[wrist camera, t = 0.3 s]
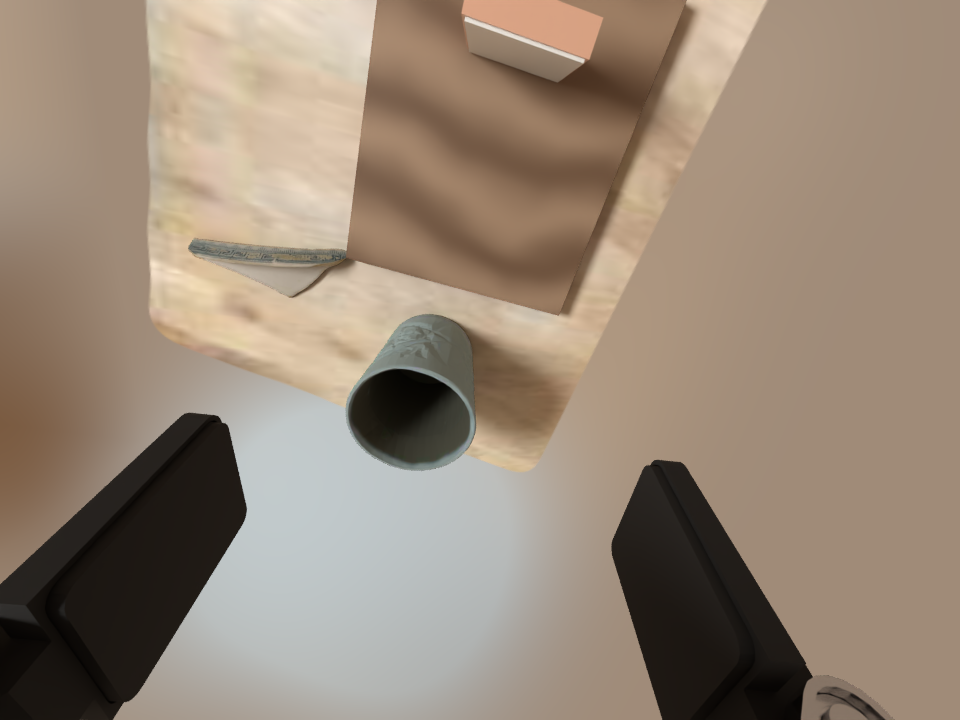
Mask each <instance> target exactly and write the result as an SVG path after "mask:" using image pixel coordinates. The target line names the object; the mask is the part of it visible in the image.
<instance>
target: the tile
mask: <svg viewBox="0 0 960 720" xmlns="http://www.w3.org/2000/svg"><path fill="white" fill-rule="evenodd" d="M461 15H462V20H463V26H464V32H465V38H466V44H467V48H469V52H471V53H474V54H477V55H480V56H482V57H485V58H488V59H491V60H494V61H497V62H500V63H503V64H505V65H508V66H511V67H514V68H517V69H520V70H523V71H525V72H528V73H531V74H534V75H537V76H540V77H543V78H546V79H548V80H551V81H554V82H557V83H558V82H559V81H561V80H562V79H564V78H565V77H566V76H568V75H569V74H570V73H572V72H573V71H575V70H576V69H577V68H579V67H580V66H581V65H583V64H584V63H586V62H587V61H588V60H589V59H590V56H591V53H592V50H593V47H594V44H595V41H596V38H597V35H598V32H599V29H600V26H601V24H602V21H603V17H600V16H598V15H595V14H593V13H590V12H587V11H585V10H582V9H579V8H577V7H574V6H571V5H569V4H566V3H563V2H561V1H558V0H464V3H463V8H462V13H461Z"/></svg>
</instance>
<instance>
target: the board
mask: <svg viewBox="0 0 960 720" xmlns="http://www.w3.org/2000/svg"><path fill="white" fill-rule="evenodd" d="M558 1H561V2H563V3H566V4H569V5H571V6H574V7H577V8H579V9H582V10H585V11H587V12H590V13H593V14H595V15H598V16H600V17H603V21H602V24H601V26H600V29H599V32H598V35H597V38H596V41H595V44H594V47H593V50H592V53H591V56H590V59H589V60H588V61H587V62H586V63H584V64H583V65H581V66H580V67H579V68H577V69H576V70H575V71H573V72H572V73H570V74H569V75H568V76H566V77H565V78H564V79H562V80H561V81H559V82H558V83H557V82H554V81H551V80H548V79H546V78H543V77H540V76H537V75H534V74H531V73H528V72H525V71H523V70H520V69H517V68H514V67H511V66H508V65H505V64H503V63H500V62H497V61H494V60H491V59H488V58H485V57H482V56H480V55H477V54H474V53H471V52H469V48H467V44H466V38H465V32H464V26H463V20H462V15H461V13H462V8H463V3H464V0H377V5H376V14H375V22H374V30H373V38H372V47H371V55H370V63H369V71H368V79H367V88H366V96H365V104H364V112H363V121H362V129H361V137H360V145H359V154H358V162H357V170H356V178H355V186H354V195H353V203H352V211H351V219H350V228H349V236H348V244H347V252H346V258H348V259H352V260H356V261H359V262H363V263H367V264H371V265H374V266H378V267H382V268H385V269H389V270H393V271H396V272H400V273H404V274H407V275H411V276H415V277H418V278H422V279H426V280H429V281H433V282H437V283H441V284H444V285H448V286H452V287H455V288H459V289H463V290H466V291H470V292H474V293H477V294H481V295H485V296H488V297H492V298H496V299H499V300H503V301H507V302H511V303H514V304H518V305H522V306H525V307H529V308H533V309H536V310H540V311H544V312H547V313H551V314H555V315H558V316H559V314H560V311H561V309H562V306H563V304H564V301H565V299H566V296H567V294H568V291H569V289H570V286H571V284H572V282H573V279H574V277H575V274H576V272H577V269H578V267H579V264H580V262H581V259H582V257H583V254H584V252H585V249H586V247H587V245H588V242H589V240H590V237H591V235H592V232H593V230H594V227H595V225H596V222H597V220H598V217H599V215H600V213H601V210H602V208H603V205H604V203H605V200H606V198H607V195H608V193H609V190H610V188H611V185H612V183H613V181H614V178H615V176H616V173H617V171H618V168H619V166H620V163H621V161H622V158H623V156H624V153H625V151H626V148H627V146H628V144H629V141H630V139H631V136H632V134H633V131H634V129H635V126H636V124H637V121H638V119H639V116H640V114H641V112H642V109H643V107H644V104H645V102H646V99H647V97H648V94H649V92H650V89H651V87H652V84H653V82H654V80H655V77H656V75H657V72H658V70H659V67H660V65H661V62H662V60H663V57H664V55H665V52H666V50H667V47H668V45H669V43H670V40H671V38H672V35H673V33H674V30H675V28H676V25H677V23H678V20H679V18H680V15H681V13H682V11H683V8H684V6H685V3H686V1H687V0H558Z"/></svg>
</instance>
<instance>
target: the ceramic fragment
mask: <svg viewBox="0 0 960 720" xmlns="http://www.w3.org/2000/svg"><path fill="white" fill-rule="evenodd" d="M188 249H189V251H190V252H191V253H192V254H193V255H194V256H195V257H197V258H200V259H204V260H206V261H208V262H211V263H213V264H216V265H219V266H221V267H224V268H226V269H229V270H232V271H234V272H237V273H239V274H241V275H243V276H246V277H248V278H251V279H253V280H255V281H257V282H260V283H262V284H264V285H266V286H268V287H270V288H272V289H275V290H276V291H278V292H279V293H281V294H284V295H286V296H287V297H293V296H294V295H296V294H297V293H299V292H300V291H302V290H304V289H305V288H307V287H308V286H309V285H310V284H312V283H313V282H314V281H315V280H316V279H317V278H318V277H319V276H320V275H321V274H322V273H323V272H324V271H325V270H326V269H328V268H329V267H330V266H335V265H338V264H339V263H341V262H342V261H343V260H345V259H346V252H347V251H345V250H342V249H314V250H310V249H297V248H284V247H270V246H258V245H247V244H237V243H227V242H219V241H211V240H203V239H197V238H194V239H193V240H192V242H191V244H190V245H189V248H188Z"/></svg>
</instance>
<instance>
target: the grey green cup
mask: <svg viewBox="0 0 960 720" xmlns="http://www.w3.org/2000/svg"><path fill="white" fill-rule="evenodd" d="M472 362H473V356H472V347H471V343H470V340H469V338H468V337H467V335H466V333H465V332H464V331H463V330H462V328H461V327H460V326H458V325H457V324H456V323H455V322H453V321H451V320H449V319H447V318H445V317H442V316H438V315H433V314H425V315H419V316H415V317H412V318H410V319H408V320H406V321H405V322H403V323H402V324H401V325H400V326H398V328H397V329H396V330H395V331H394V333H393V334H392V336H391V337H390V338H389V340H388V342H387V343H386V344H385V346H384V348H383V349H382V350H381V352H380V353H379V354H378V355H377V357H376V358H375V360H374V362H373V363H372V364H371V365H370V366H369V368H368V369H367V370H366V372H365V373H364V374H363V376H362V377H361V378H360V380H359V381H358V382H357V383H356V385H355V386H354V387H353V389H352V391H351V392H350V394H349V397H348V399H347V403H346V419H347V425H348V428H349V430H350V433H351V435H352V436H353V438H354V439H355V441H356V442H357V444H358V445H359V446H360V447H361V448H362V449H363V450H364V451H365V452H366V453H368V454H369V455H371V456H372V457H374V458H375V459H377V460H379V461H381V462H383V463H385V464H387V465H389V466H393V467H397V468H400V469H405V470H417V471H418V470H419V471H420V470H421V471H423V470H431V469H436V468H439V467H442V466H445V465H447V464H449V463H451V462H453V461H455V460H456V459H458V458H459V457H460V456H461V455H462V454H463V453H464V452H465V451H466V450H467V449H468V447H469V446H470V444H471V443H472V440H473V438H474V435H475V431H476V415H475V401H474V383H473V381H474V375H473V363H472Z"/></svg>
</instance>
